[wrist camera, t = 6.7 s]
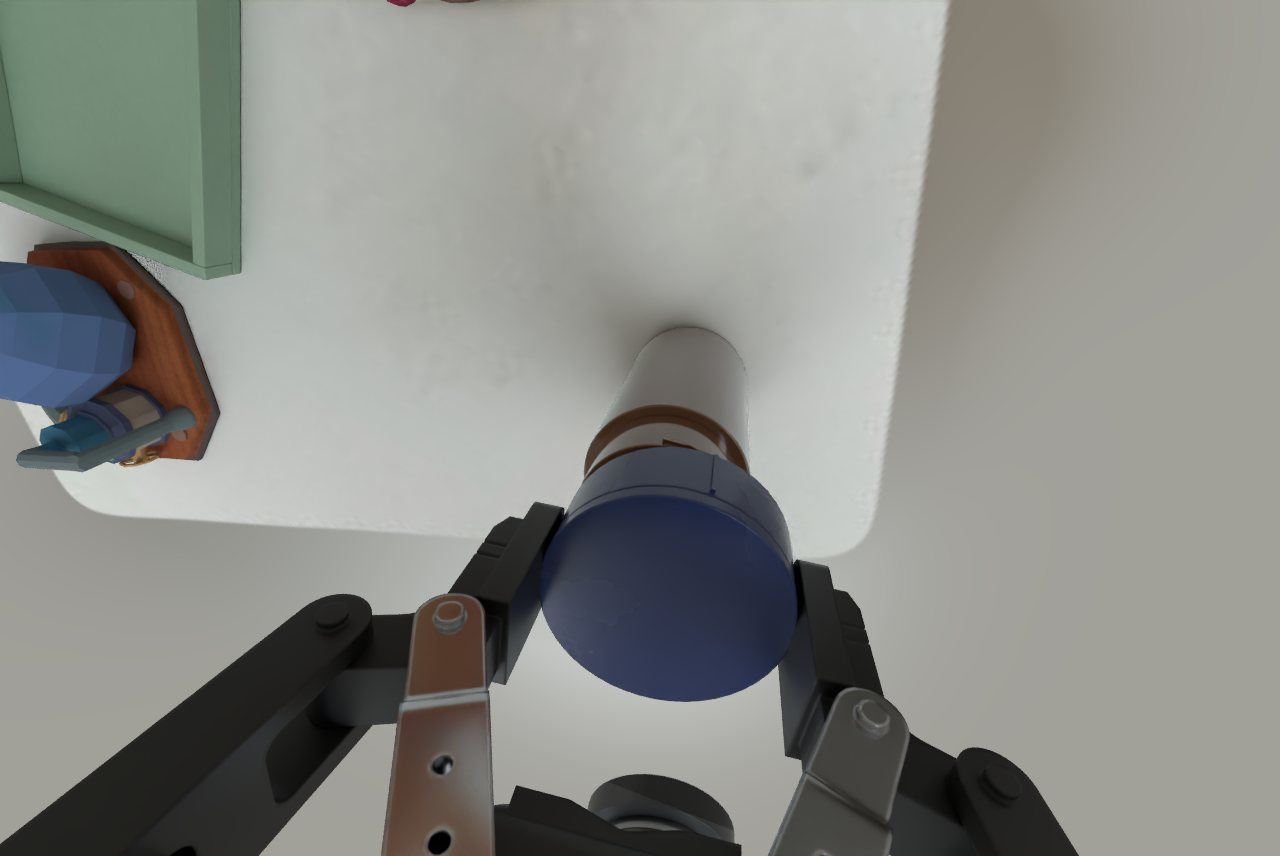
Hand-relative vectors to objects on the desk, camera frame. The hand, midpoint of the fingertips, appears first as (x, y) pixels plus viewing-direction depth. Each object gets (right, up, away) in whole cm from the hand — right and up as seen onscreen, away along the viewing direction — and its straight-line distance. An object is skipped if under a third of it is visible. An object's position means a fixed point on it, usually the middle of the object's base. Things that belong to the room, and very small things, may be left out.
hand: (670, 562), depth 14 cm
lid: (0, -1, -1) cm, 1 cm away
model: (-28, +7, +16) cm, 34 cm away
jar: (+1, +5, +11) cm, 13 cm away
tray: (-23, +19, +10) cm, 31 cm away
